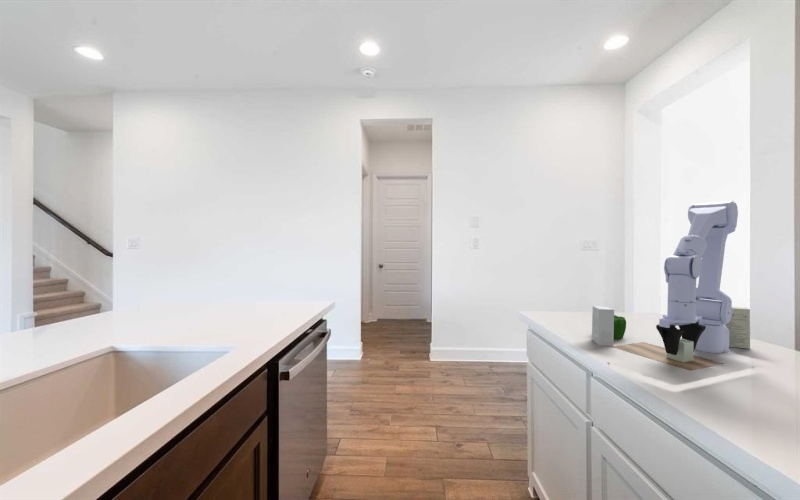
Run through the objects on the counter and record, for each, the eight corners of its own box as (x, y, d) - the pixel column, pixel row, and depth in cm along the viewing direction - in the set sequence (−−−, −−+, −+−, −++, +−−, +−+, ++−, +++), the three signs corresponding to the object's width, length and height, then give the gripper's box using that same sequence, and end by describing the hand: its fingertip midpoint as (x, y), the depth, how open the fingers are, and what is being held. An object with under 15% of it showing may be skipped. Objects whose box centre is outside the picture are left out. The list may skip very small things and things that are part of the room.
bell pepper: (600, 335, 117) (601, 306, 117) (628, 340, 111) (629, 310, 111) (592, 339, 111) (592, 309, 111) (621, 345, 105) (621, 313, 105)
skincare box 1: (614, 349, 100) (614, 309, 100) (598, 348, 101) (599, 309, 101) (605, 344, 106) (606, 306, 106) (591, 343, 107) (591, 305, 107)
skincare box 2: (745, 346, 106) (747, 307, 105) (750, 349, 102) (751, 309, 102) (718, 342, 109) (719, 305, 109) (721, 345, 105) (722, 307, 105)
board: (642, 345, 105) (642, 341, 105) (723, 368, 86) (723, 363, 86) (611, 350, 100) (611, 346, 100) (690, 375, 81) (690, 370, 81)
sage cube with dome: (675, 355, 92) (676, 336, 92) (693, 360, 88) (693, 340, 88) (666, 357, 90) (667, 337, 90) (683, 362, 87) (684, 341, 87)
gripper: (681, 297, 95) (680, 345, 96) (647, 300, 90) (646, 350, 90) (711, 301, 89) (710, 352, 89) (677, 304, 83) (676, 359, 84)
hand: (680, 352), depth 89 cm, fingers open, 7 cm apart
